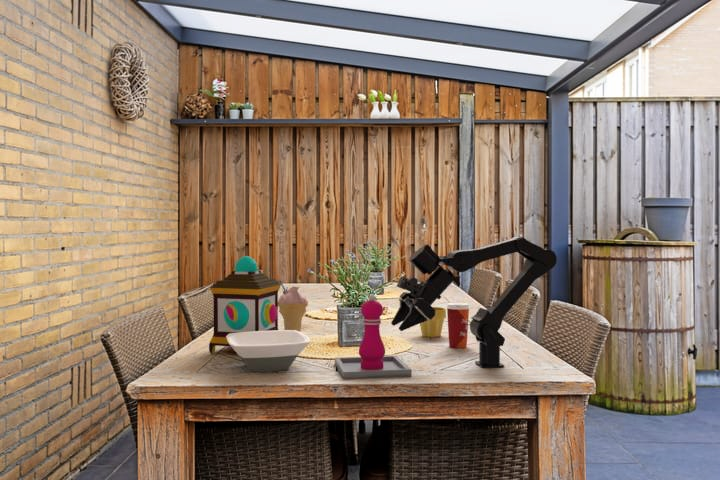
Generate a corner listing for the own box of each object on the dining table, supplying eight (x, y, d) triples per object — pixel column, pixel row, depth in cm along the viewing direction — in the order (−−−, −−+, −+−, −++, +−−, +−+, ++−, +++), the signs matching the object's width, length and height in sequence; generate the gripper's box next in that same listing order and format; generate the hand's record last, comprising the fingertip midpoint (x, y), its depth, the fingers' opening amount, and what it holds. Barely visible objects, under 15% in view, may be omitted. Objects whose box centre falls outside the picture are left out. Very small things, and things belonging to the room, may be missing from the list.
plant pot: (414, 337, 223) (414, 309, 223) (418, 332, 233) (419, 306, 233) (444, 338, 221) (444, 310, 221) (447, 333, 231) (447, 307, 231)
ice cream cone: (287, 340, 218) (286, 282, 218) (271, 335, 227) (271, 279, 227) (313, 336, 225) (313, 280, 224) (298, 332, 234) (298, 278, 233)
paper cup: (469, 349, 202) (469, 305, 202) (445, 348, 204) (445, 305, 204) (470, 344, 210) (470, 302, 210) (446, 343, 212) (447, 302, 211)
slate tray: (411, 376, 166) (411, 369, 166) (343, 379, 163) (343, 372, 163) (396, 361, 184) (396, 355, 184) (334, 363, 181) (334, 357, 181)
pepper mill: (365, 371, 169) (365, 296, 168) (354, 366, 176) (354, 294, 175) (389, 369, 172) (389, 295, 171) (378, 363, 178) (378, 292, 178)
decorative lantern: (287, 346, 207) (287, 254, 207) (262, 358, 188) (262, 257, 188) (232, 343, 213) (232, 254, 212) (202, 354, 194) (201, 256, 193)
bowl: (230, 379, 163) (230, 347, 163) (224, 361, 185) (224, 332, 185) (315, 374, 169) (315, 342, 169) (298, 356, 191) (298, 328, 191)
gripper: (406, 264, 184) (369, 302, 183) (423, 268, 166) (382, 311, 164) (432, 290, 186) (396, 329, 184) (452, 297, 167) (412, 340, 166)
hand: (395, 327), depth 175 cm, fingers open, 9 cm apart
